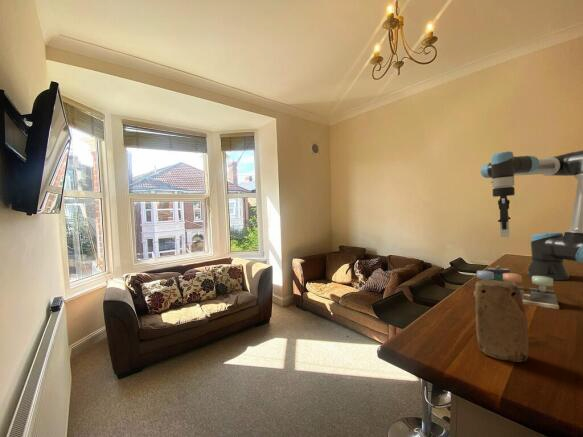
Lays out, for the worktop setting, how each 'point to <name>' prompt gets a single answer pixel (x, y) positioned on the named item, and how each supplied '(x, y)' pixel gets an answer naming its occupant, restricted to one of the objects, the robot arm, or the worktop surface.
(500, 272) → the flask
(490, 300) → the block
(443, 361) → the worktop surface
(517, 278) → the terracotta button
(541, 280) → the sage button
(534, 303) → the button board
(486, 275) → the slate button
